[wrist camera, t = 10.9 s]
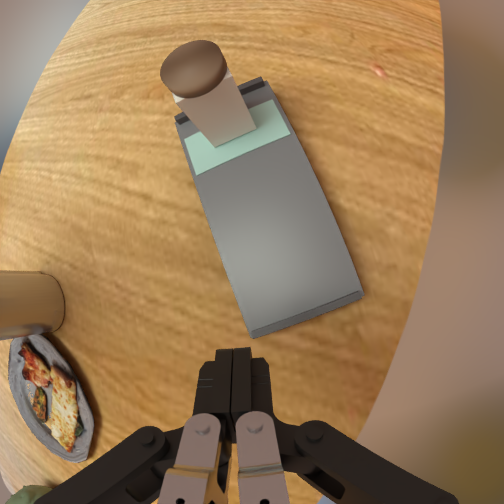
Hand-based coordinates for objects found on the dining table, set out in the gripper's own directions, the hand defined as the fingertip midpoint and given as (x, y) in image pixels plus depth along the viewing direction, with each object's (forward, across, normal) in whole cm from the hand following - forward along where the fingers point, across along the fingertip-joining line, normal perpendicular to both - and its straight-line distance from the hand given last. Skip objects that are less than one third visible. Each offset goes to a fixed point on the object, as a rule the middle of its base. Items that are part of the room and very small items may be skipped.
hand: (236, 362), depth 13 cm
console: (+23, -3, -1) cm, 23 cm away
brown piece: (+24, 0, -10) cm, 26 cm away
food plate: (+17, +37, +26) cm, 48 cm away
